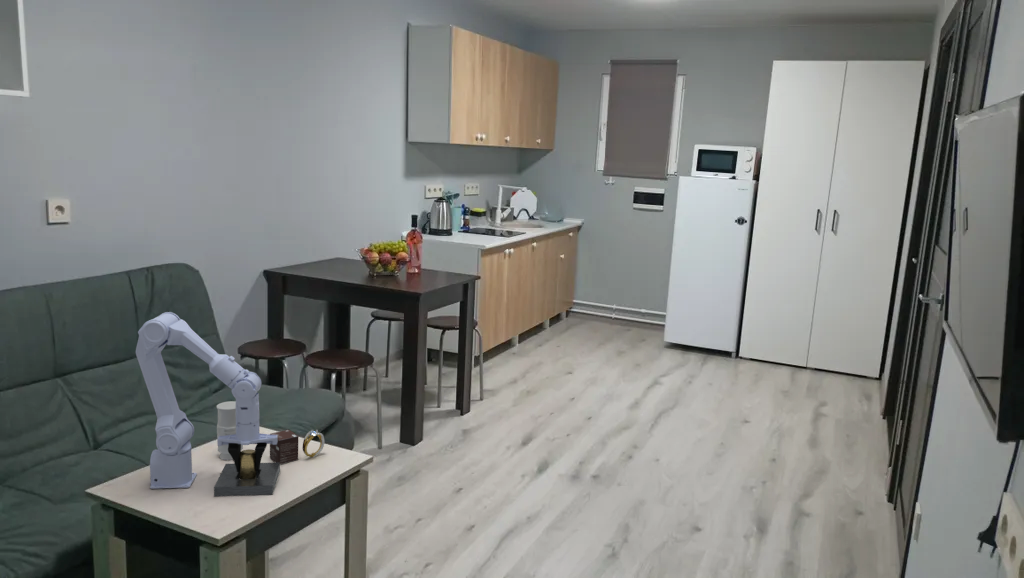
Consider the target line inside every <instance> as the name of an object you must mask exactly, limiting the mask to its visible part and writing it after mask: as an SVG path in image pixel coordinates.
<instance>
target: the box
mask: <svg viewBox="0 0 1024 578" xmlns="http://www.w3.org/2000/svg"><path fill="white" fill-rule="evenodd" d="M269 435H278V442H277V445H273V444H269V458H270V460H272V461H273V463H274V462H280V465H283V464H287V463H291V462H296V461H298V460H299V437H300V436H299V435H298V434H296V433H295V432H294V431H292V430H290V429H284V430H282V431H281V430H280V431H276V432H271V433H269Z"/></svg>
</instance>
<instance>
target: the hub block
mask: <svg viewBox="0 0 1024 578" xmlns="http://www.w3.org/2000/svg"><path fill="white" fill-rule="evenodd" d="M280 472H281V464H280V462H274V461H273V462H260V469H259V471H258V472H256V479H240V472H237V470H236V466H235V463H234V462H233V463H225V464H224V467H223V468H222V470H221V472H220V474H219V476H218V478H217V480H216V482H215V483H214V486H213V497H230V496H231V497H237V496H238V497H239V496H241V497H242V496H269V495H270V496H271V495H273V494H274V491H275V488H276V485H277V483H278V479H279V475H280V474H281V473H280Z"/></svg>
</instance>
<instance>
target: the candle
mask: <svg viewBox="0 0 1024 578" xmlns="http://www.w3.org/2000/svg"><path fill="white" fill-rule="evenodd" d="M235 405H236V400H234V401H233V400H232V401H231V400H229V401H223V402H220V403H218V404H217V405H216V409H217V424H216V435H217V437H216V439H218V437H219V436H226V435H233V434H236V406H235ZM243 449H244V445H241V451H243ZM217 452H218V453H219V456H218V458H219V459H221V460H223V461H232V460H233V458H232V457H231V455H230V454H229V452H228V445H222V446H218V445H217ZM233 461H234V460H233Z"/></svg>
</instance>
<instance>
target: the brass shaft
mask: <svg viewBox="0 0 1024 578" xmlns="http://www.w3.org/2000/svg"><path fill="white" fill-rule="evenodd" d="M255 467H256V455H255V449H244V450H243V449H242V450H241V452H240V479H257V478H256V470H255Z"/></svg>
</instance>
